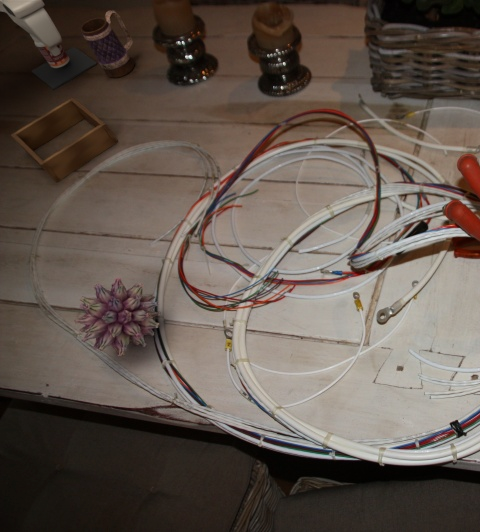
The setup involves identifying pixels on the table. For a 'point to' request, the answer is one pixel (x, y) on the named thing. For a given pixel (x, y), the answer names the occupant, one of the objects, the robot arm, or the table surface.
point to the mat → (64, 69)
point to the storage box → (75, 151)
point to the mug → (108, 45)
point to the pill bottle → (51, 59)
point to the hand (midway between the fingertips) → (51, 49)
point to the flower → (118, 316)
